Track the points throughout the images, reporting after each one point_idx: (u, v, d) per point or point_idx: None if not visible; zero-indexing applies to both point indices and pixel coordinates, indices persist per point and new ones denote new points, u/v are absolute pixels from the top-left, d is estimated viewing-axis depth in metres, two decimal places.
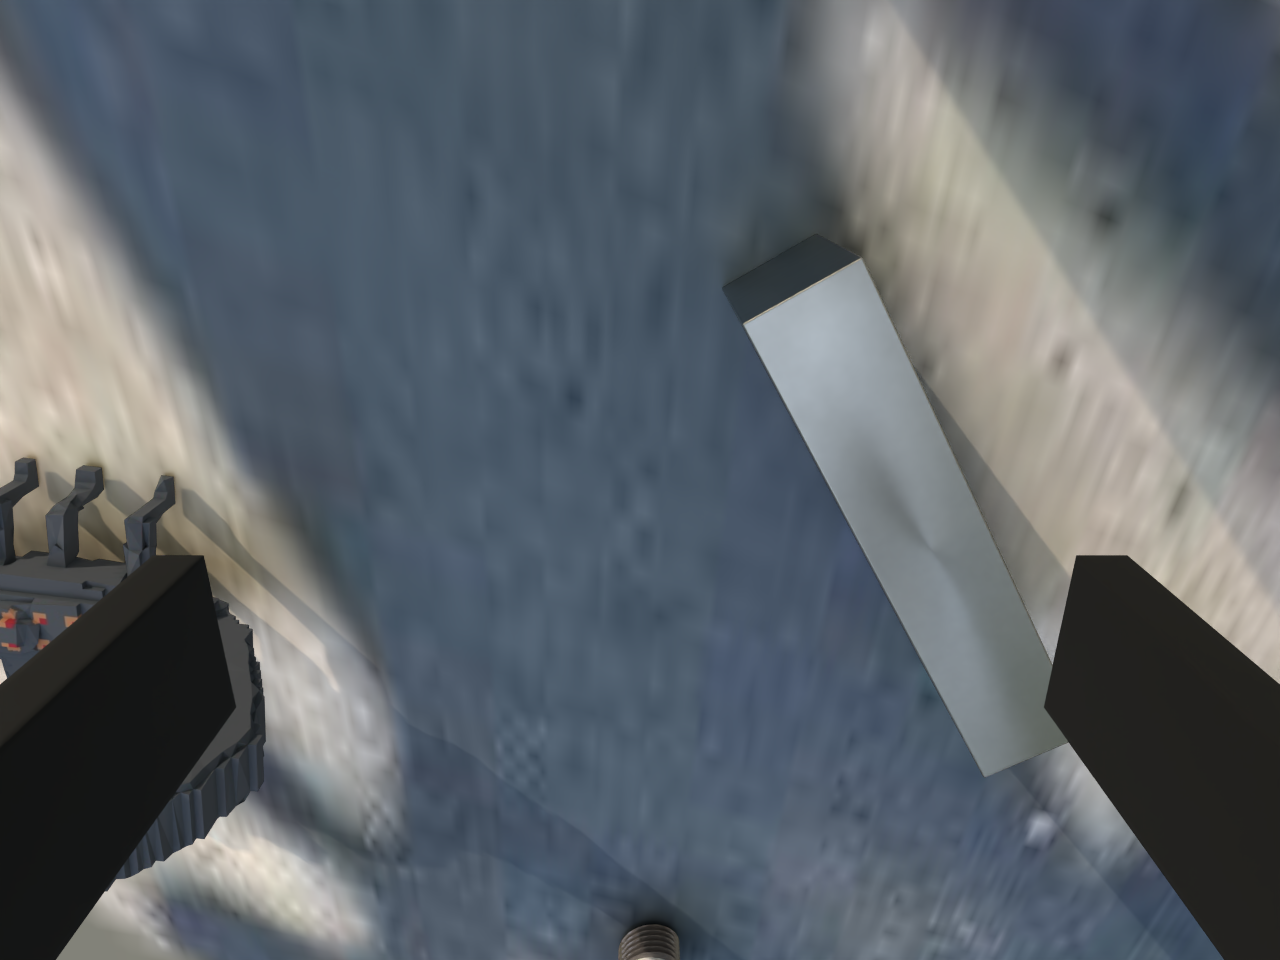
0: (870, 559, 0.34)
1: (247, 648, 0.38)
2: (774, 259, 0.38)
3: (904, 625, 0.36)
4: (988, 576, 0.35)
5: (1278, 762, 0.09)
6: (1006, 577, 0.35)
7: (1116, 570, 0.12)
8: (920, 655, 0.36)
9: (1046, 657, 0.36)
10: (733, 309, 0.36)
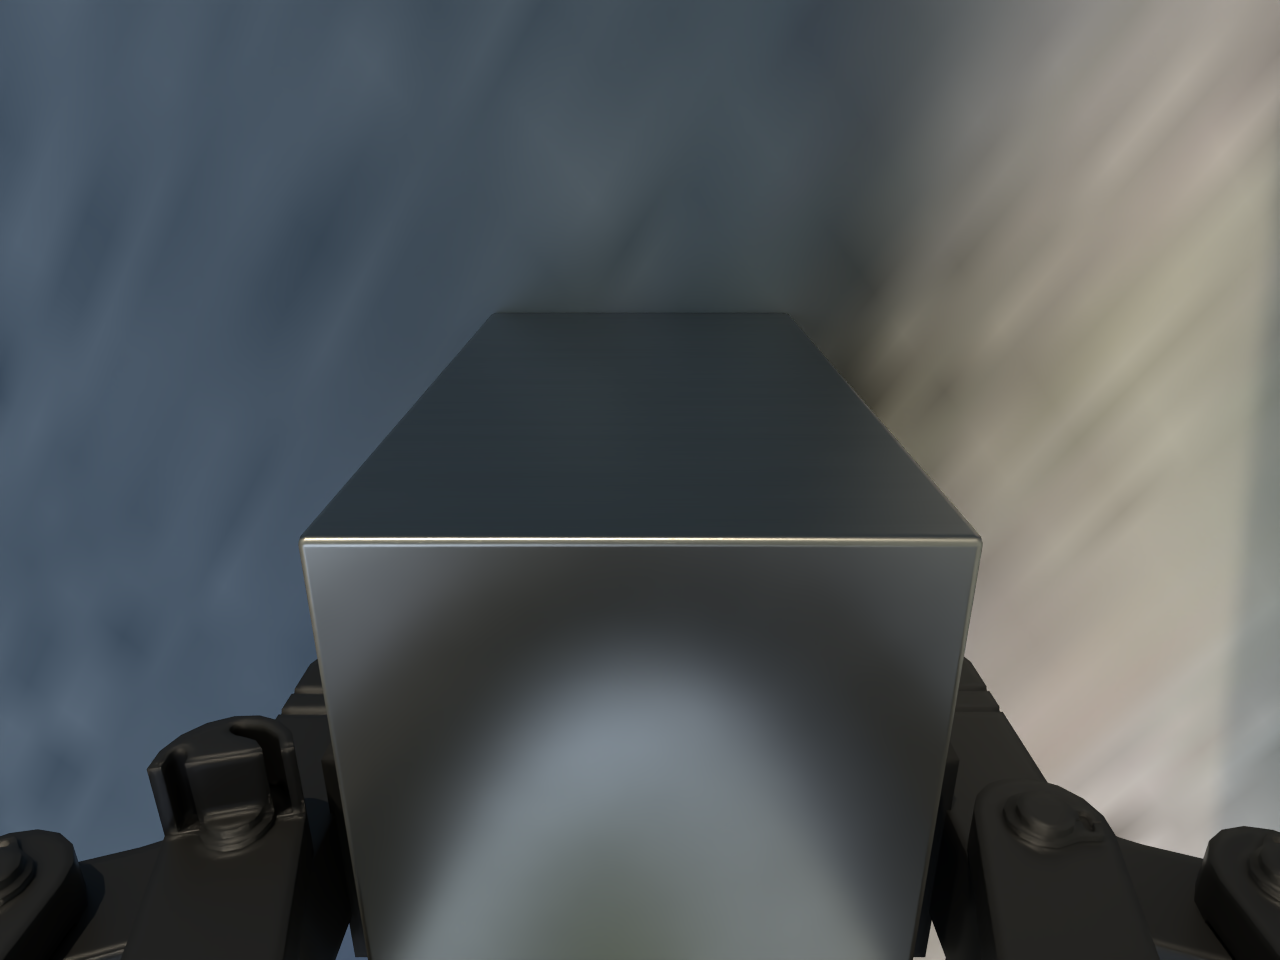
0: None
1: None
2: (654, 317, 0.13)
3: None
4: None
5: None
6: None
7: None
8: None
9: None
10: None
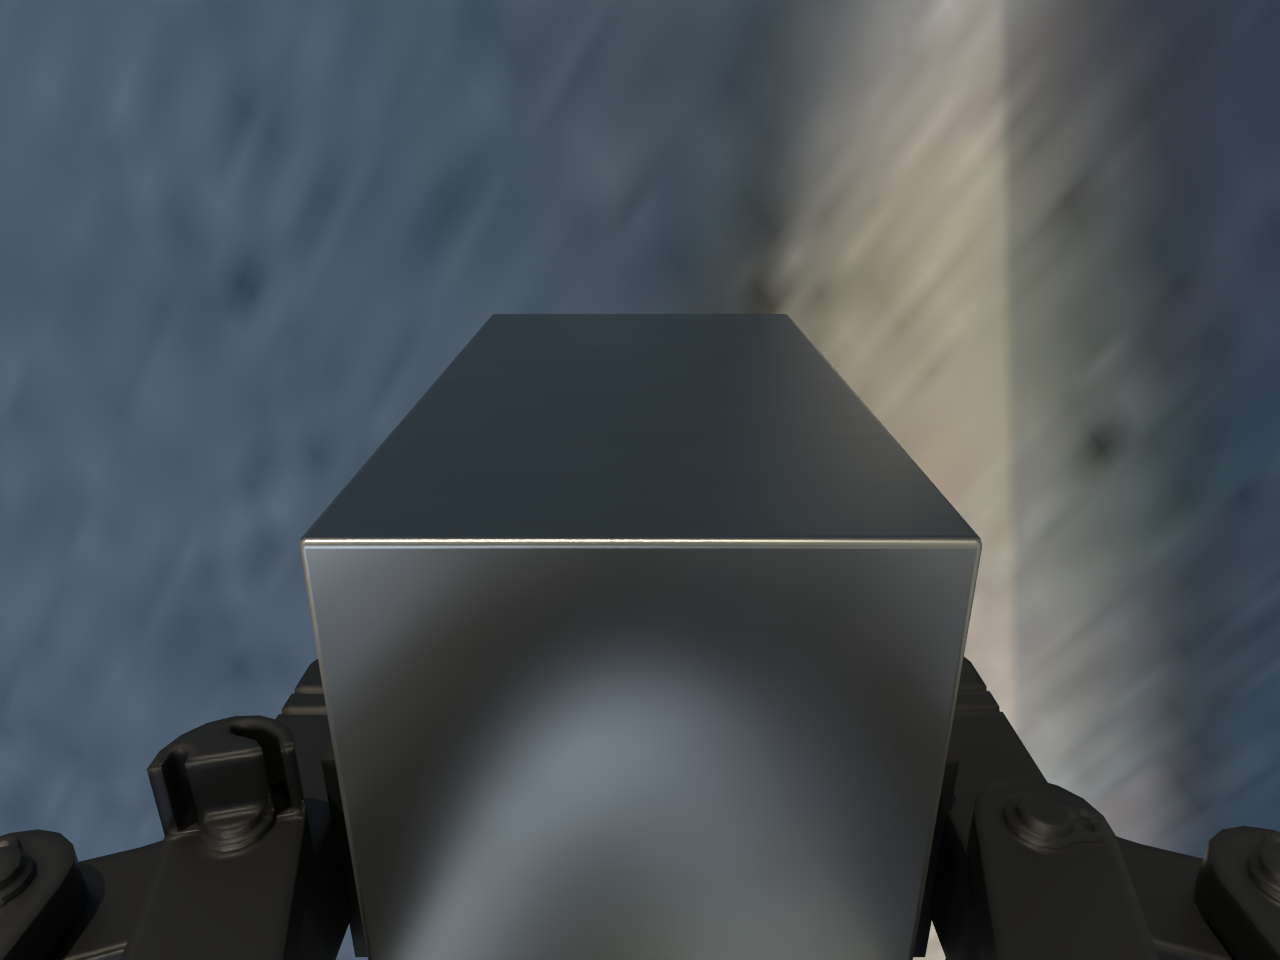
0: None
1: None
2: (654, 318, 0.13)
3: None
4: None
5: None
6: None
7: None
8: None
9: None
10: None
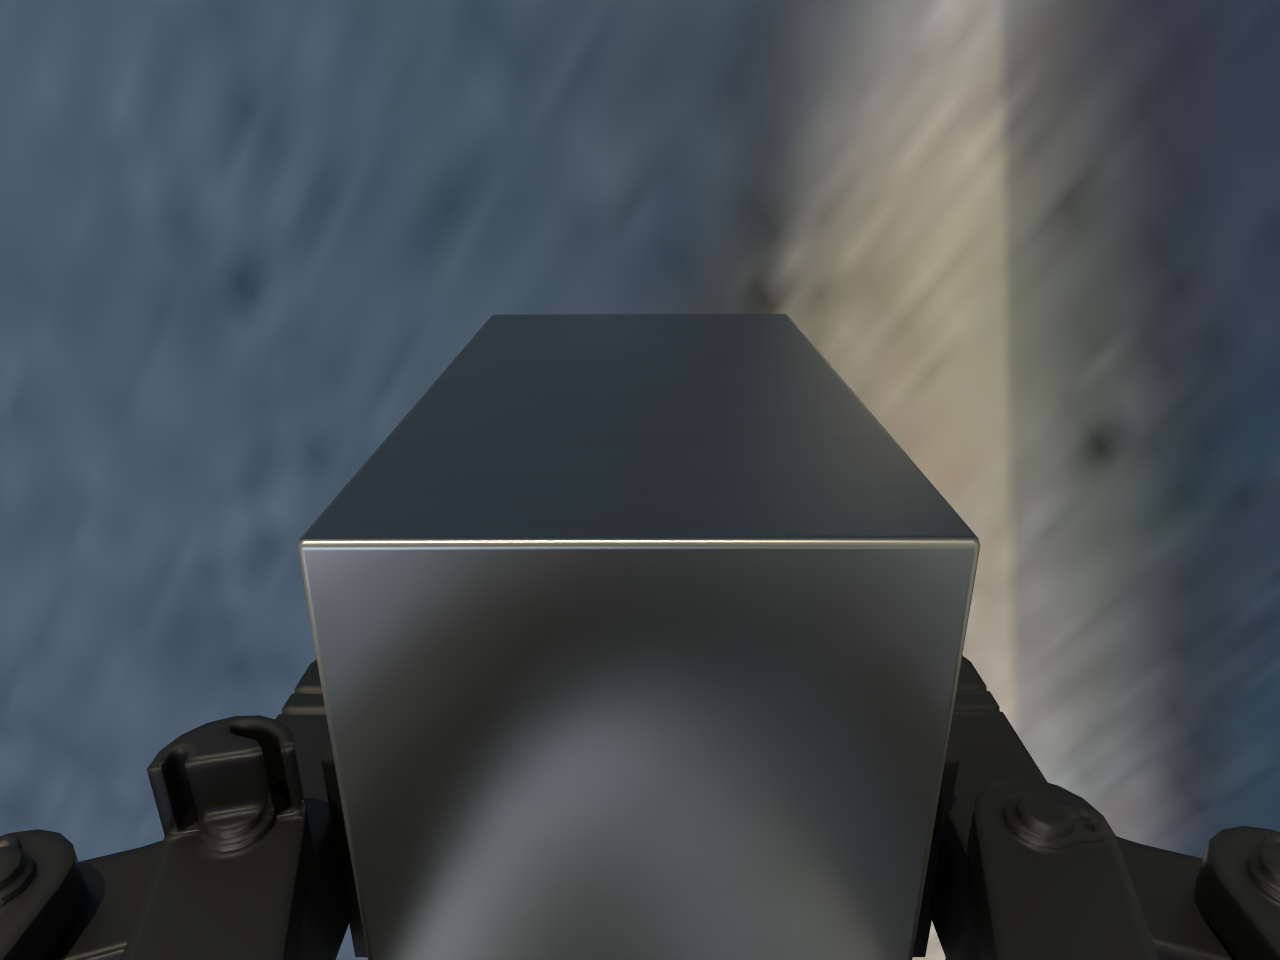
0: None
1: None
2: (654, 318, 0.13)
3: None
4: None
5: None
6: None
7: None
8: None
9: None
10: None
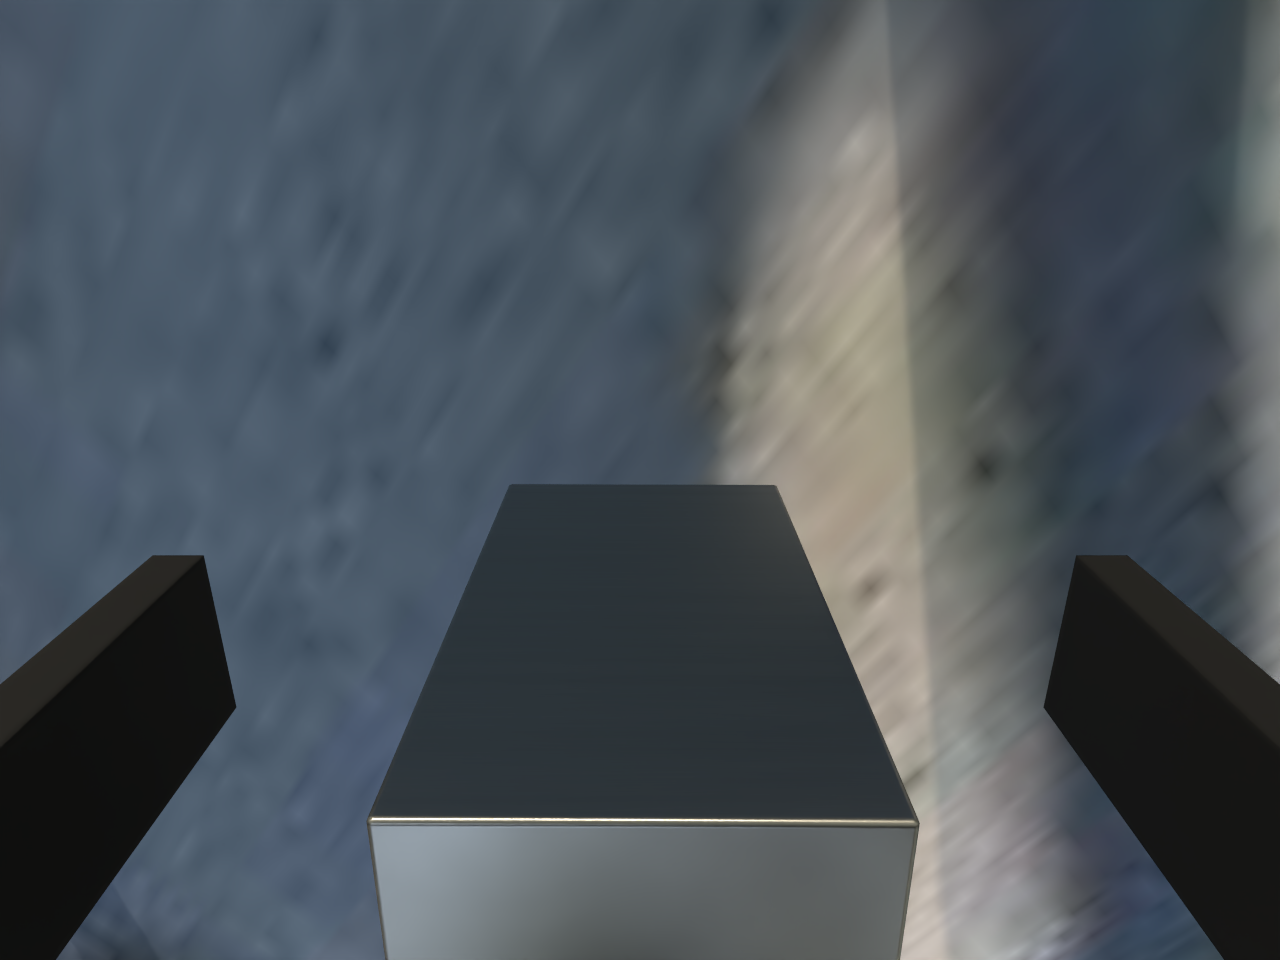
0: None
1: None
2: (655, 492, 0.15)
3: None
4: None
5: (1278, 762, 0.09)
6: None
7: (1115, 570, 0.12)
8: None
9: None
10: None
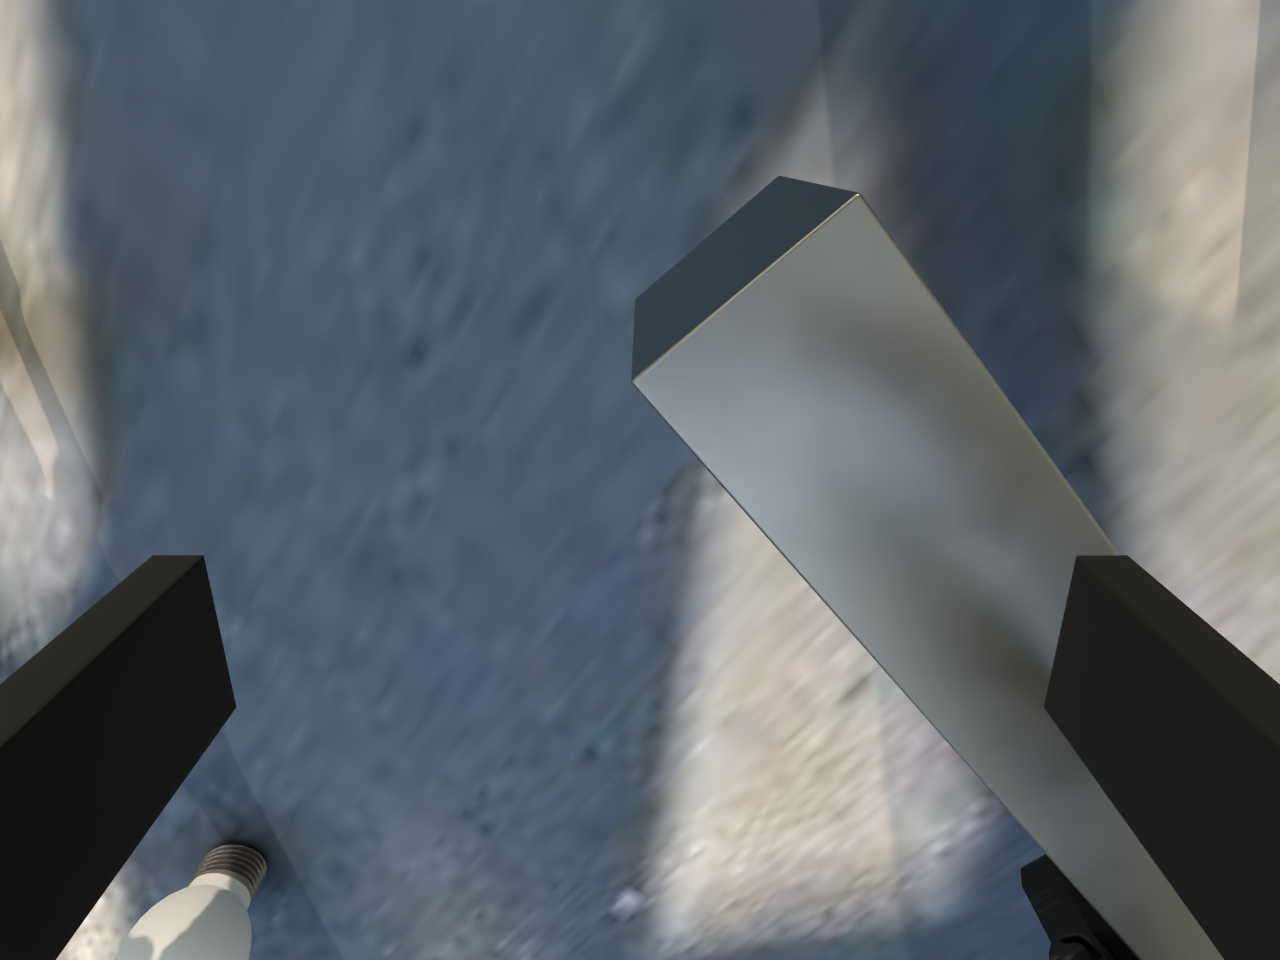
0: (981, 774, 0.18)
1: None
2: (713, 234, 0.21)
3: (1067, 874, 0.19)
4: None
5: (1278, 762, 0.09)
6: None
7: (1116, 570, 0.12)
8: (1105, 918, 0.19)
9: None
10: None
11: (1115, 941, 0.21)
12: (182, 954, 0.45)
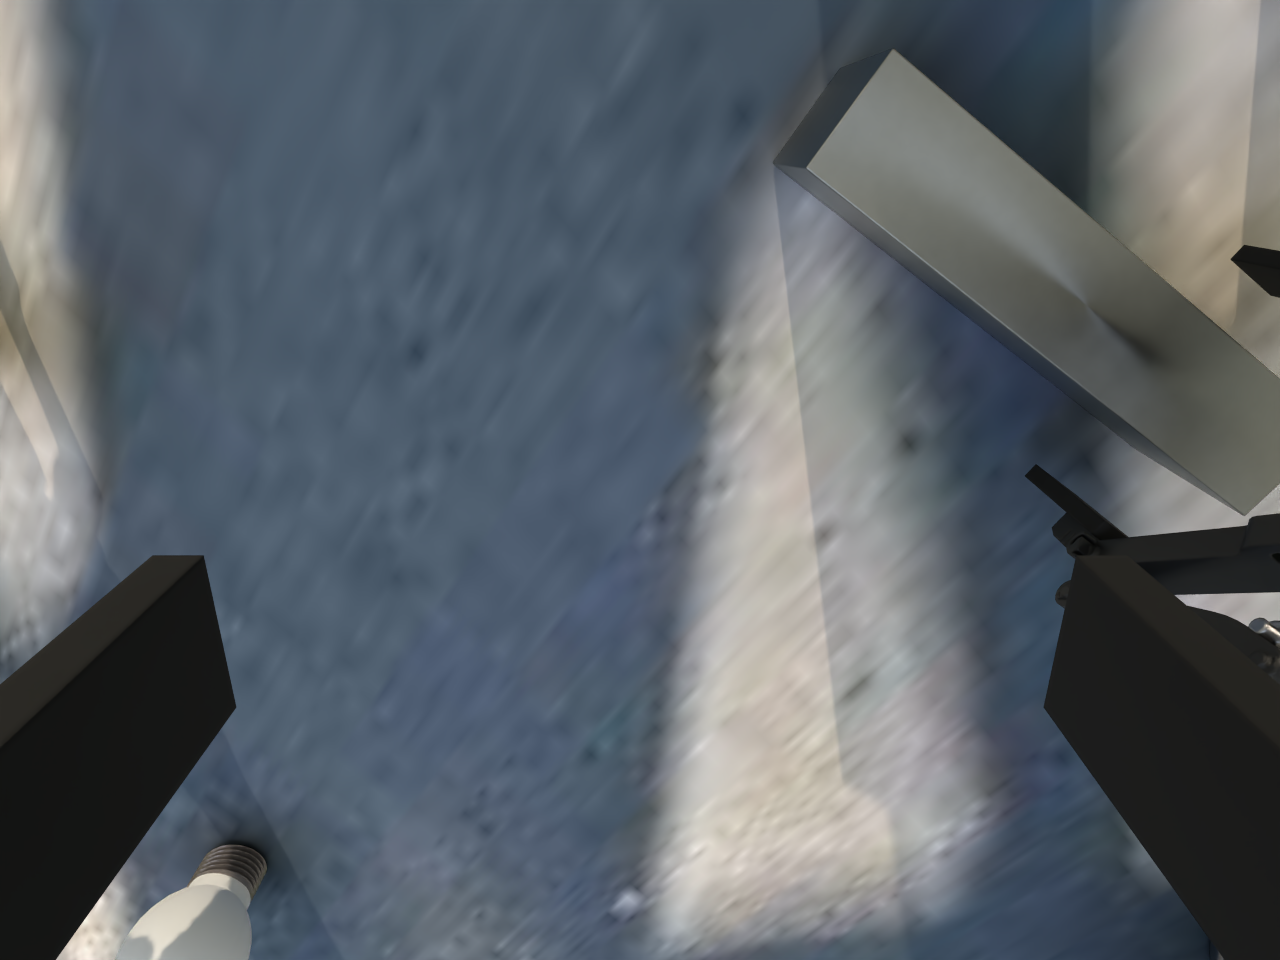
0: (1027, 340, 0.33)
1: None
2: (810, 111, 0.37)
3: (1091, 393, 0.34)
4: (1159, 306, 0.32)
5: (1278, 762, 0.09)
6: (1178, 299, 0.32)
7: (1116, 570, 0.12)
8: (1121, 416, 0.34)
9: (1258, 364, 0.33)
10: (791, 173, 0.36)
11: (1107, 536, 0.35)
12: (182, 954, 0.45)
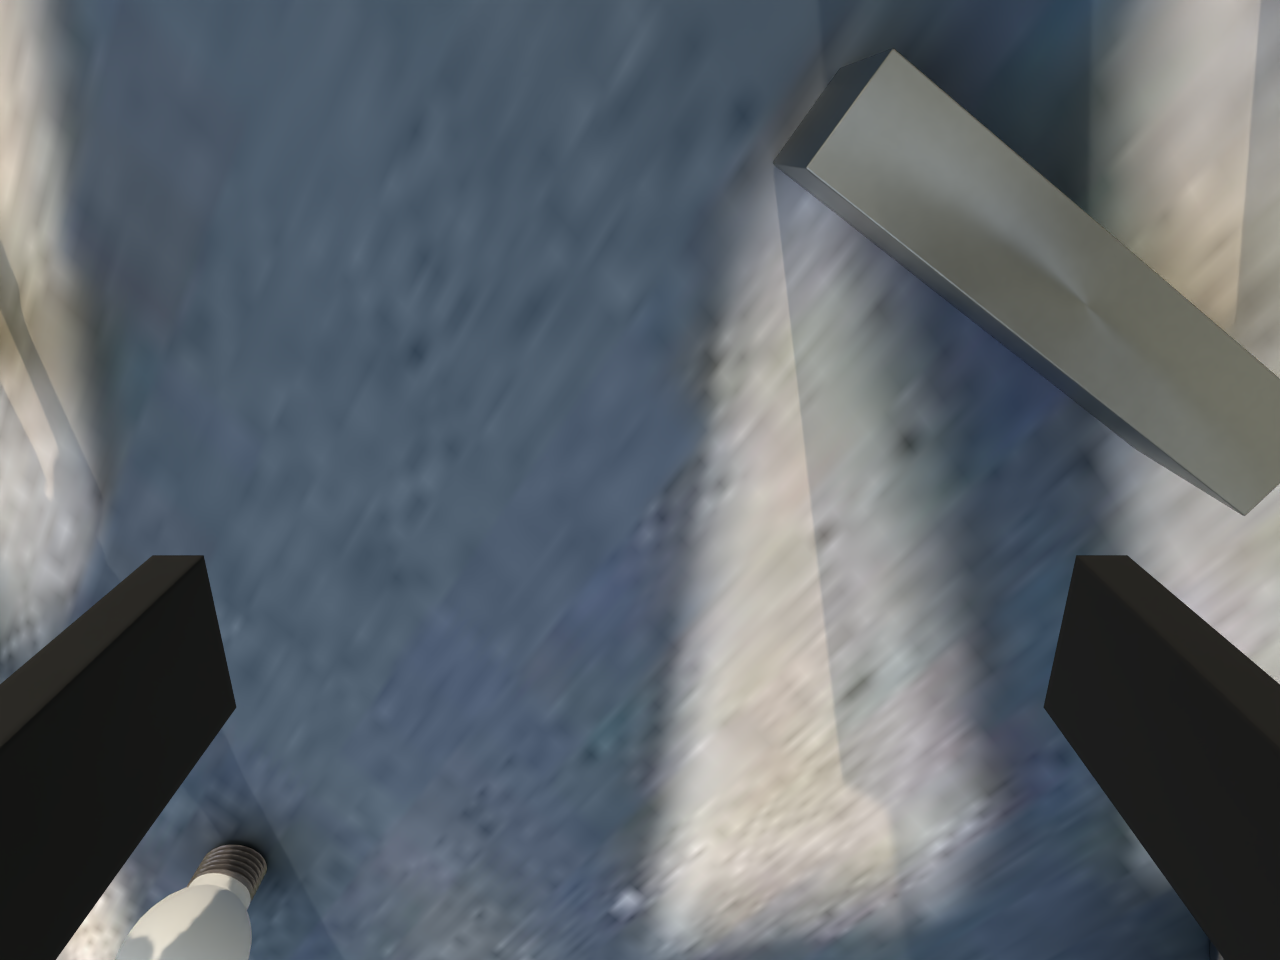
0: (1027, 340, 0.33)
1: None
2: (810, 111, 0.37)
3: (1091, 393, 0.34)
4: (1159, 306, 0.32)
5: (1278, 762, 0.09)
6: (1178, 299, 0.32)
7: (1116, 570, 0.12)
8: (1121, 416, 0.34)
9: (1258, 364, 0.33)
10: (791, 173, 0.36)
11: None
12: (182, 954, 0.45)
